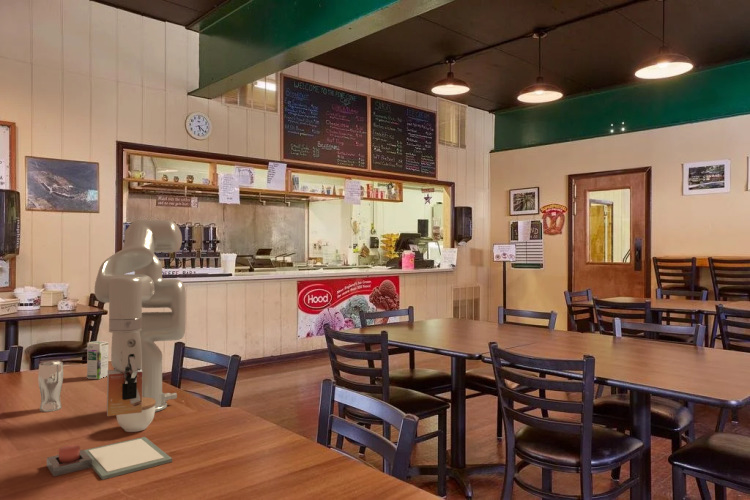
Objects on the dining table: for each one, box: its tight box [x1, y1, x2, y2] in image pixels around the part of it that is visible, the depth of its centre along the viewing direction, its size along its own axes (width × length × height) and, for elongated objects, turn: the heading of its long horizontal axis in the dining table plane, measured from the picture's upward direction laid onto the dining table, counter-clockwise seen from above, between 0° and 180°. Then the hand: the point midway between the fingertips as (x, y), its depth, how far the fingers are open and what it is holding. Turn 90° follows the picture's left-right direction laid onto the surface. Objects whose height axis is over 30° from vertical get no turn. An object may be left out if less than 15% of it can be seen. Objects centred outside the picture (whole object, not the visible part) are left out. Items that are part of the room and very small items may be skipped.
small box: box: [106, 369, 143, 417], centre depth 135 cm, size 8×6×10 cm
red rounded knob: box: [58, 444, 81, 463], centre depth 129 cm, size 4×4×3 cm
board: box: [83, 436, 173, 481], centre depth 135 cm, size 16×20×1 cm
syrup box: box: [86, 340, 109, 380], centre depth 216 cm, size 6×6×14 cm
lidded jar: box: [115, 397, 156, 433], centre depth 156 cm, size 11×11×9 cm
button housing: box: [46, 449, 93, 477], centre depth 129 cm, size 8×8×2 cm
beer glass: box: [37, 360, 64, 413], centre depth 174 cm, size 7×7×15 cm
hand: (124, 395), depth 135 cm, fingers closed on small box, 6 cm apart
